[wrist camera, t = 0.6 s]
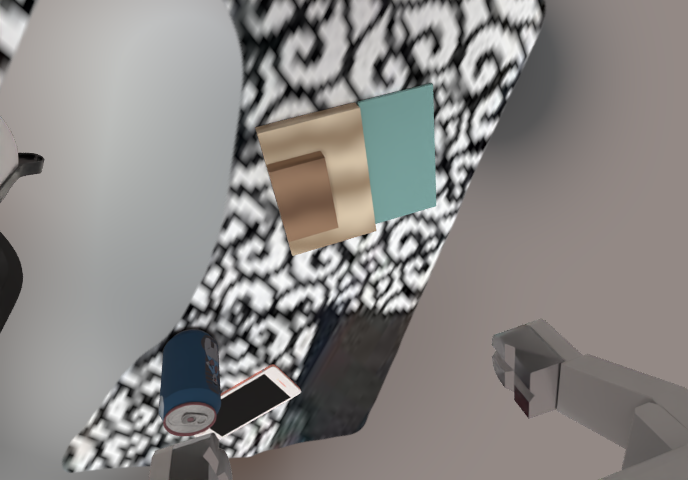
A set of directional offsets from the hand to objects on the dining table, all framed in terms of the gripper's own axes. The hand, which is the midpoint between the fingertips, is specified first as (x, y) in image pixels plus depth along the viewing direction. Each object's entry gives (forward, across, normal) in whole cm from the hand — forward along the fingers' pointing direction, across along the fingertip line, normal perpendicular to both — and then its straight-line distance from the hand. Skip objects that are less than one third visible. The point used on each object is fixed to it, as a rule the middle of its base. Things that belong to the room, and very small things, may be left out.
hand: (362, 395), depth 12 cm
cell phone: (+43, +16, +43) cm, 63 cm away
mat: (+39, -15, +9) cm, 43 cm away
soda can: (+41, +18, +27) cm, 52 cm away
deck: (+39, -5, +9) cm, 40 cm away
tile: (+37, -2, +9) cm, 38 cm away
